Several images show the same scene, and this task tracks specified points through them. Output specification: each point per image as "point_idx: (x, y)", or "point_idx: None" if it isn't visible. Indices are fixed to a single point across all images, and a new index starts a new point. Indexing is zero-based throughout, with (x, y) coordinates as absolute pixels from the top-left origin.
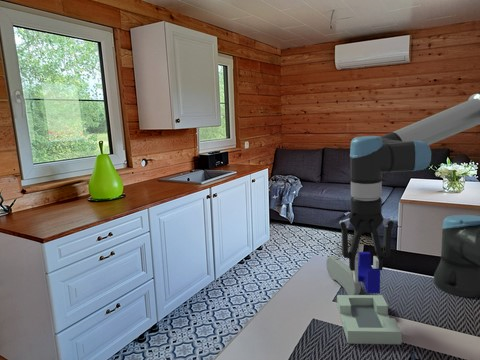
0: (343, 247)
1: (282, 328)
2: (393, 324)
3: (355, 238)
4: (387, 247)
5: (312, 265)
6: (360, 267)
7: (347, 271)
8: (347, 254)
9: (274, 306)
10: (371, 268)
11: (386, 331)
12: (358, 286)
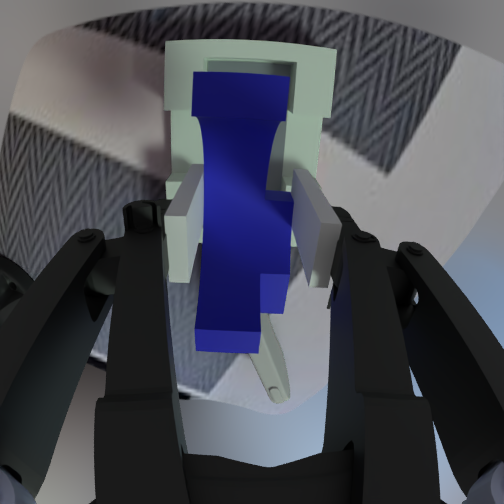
0: (461, 293)
1: (462, 143)
2: (178, 76)
3: (408, 369)
4: (61, 277)
5: (307, 390)
6: (260, 264)
7: (262, 333)
8: (409, 255)
9: (453, 234)
10: (204, 255)
11: (212, 39)
12: None
